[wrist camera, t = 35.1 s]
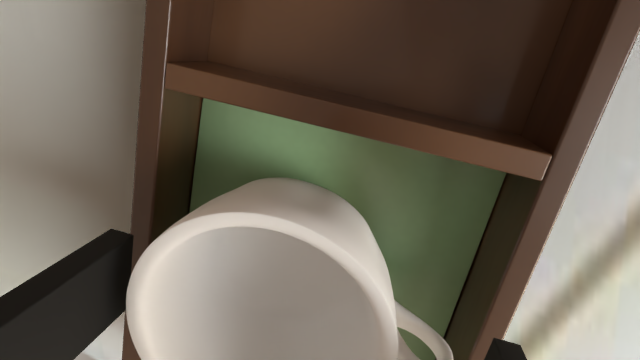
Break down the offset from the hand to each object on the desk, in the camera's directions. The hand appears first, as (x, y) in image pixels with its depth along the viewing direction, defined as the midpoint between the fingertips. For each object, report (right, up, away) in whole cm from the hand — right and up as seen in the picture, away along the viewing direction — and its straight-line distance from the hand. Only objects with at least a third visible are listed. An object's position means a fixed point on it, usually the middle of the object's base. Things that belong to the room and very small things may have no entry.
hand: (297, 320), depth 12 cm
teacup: (+1, +1, +4) cm, 4 cm away
